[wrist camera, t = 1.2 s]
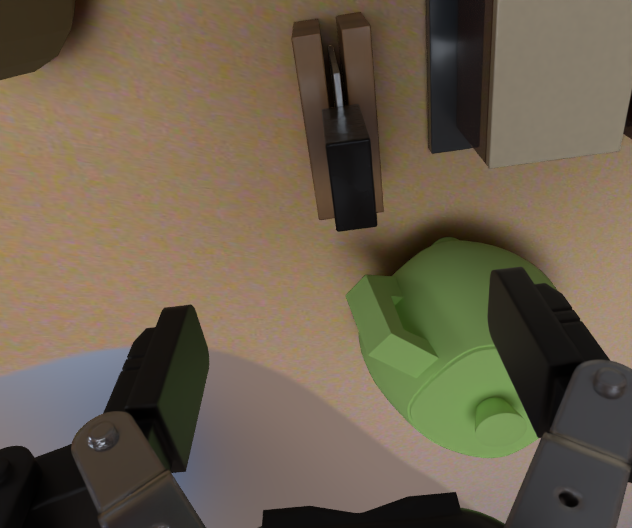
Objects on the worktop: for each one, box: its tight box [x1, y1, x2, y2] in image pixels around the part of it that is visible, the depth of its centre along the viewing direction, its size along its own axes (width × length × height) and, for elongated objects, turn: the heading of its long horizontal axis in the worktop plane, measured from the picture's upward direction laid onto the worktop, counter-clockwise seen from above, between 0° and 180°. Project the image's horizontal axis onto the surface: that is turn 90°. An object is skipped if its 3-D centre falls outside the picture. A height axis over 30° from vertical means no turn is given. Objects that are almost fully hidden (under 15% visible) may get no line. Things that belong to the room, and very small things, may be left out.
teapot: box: [346, 237, 557, 458], centre depth 34 cm, size 20×13×13 cm
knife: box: [322, 46, 377, 232], centre depth 26 cm, size 7×2×12 cm, turn 8°
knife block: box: [292, 12, 384, 220], centre depth 29 cm, size 10×4×5 cm, turn 8°
